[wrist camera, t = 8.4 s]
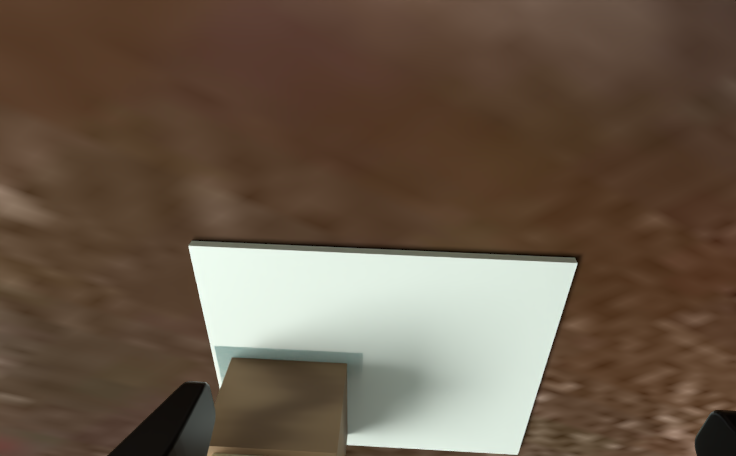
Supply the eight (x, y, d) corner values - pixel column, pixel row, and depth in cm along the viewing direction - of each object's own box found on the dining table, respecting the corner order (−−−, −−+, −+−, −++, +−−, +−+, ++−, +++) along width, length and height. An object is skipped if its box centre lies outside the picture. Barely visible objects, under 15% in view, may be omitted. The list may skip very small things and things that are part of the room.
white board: (574, 257, 21) (577, 263, 21) (516, 448, 29) (517, 454, 29) (191, 240, 22) (188, 245, 22) (232, 432, 29) (230, 438, 29)
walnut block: (347, 363, 25) (337, 453, 21) (347, 434, 28) (338, 525, 24) (231, 357, 25) (198, 445, 21) (245, 428, 29) (219, 517, 24)
